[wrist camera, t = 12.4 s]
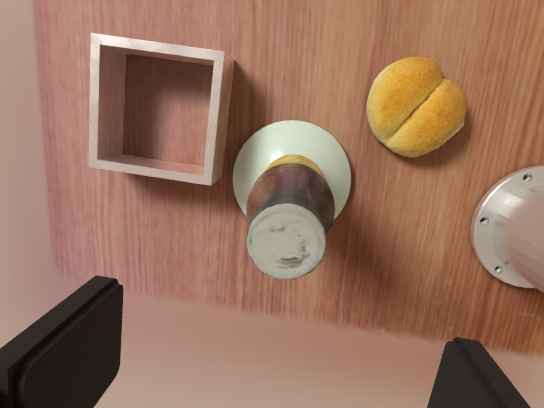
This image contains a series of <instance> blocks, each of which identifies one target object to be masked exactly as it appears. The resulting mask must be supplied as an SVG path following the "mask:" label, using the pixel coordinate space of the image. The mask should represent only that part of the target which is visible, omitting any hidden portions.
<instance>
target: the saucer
mask: <svg viewBox="0 0 544 408" xmlns="http://www.w3.org/2000/svg"><path fill="white" fill-rule="evenodd" d="M290 154H296V155H301V156H304V157H307V158H309V159H310V160H312V161H313V162H314V163H315V164H316V165H317V166H318V167H319V168H320V170H321V172H322V173H323V175H324V177H325V179H326V181H327V183H328V185H329V187H330V189H331V191H332V194H333V197H334V202H335V216H334V219H335V218H336V217H337V216H338V215H339V213H340V212H341V211H342V209H343V207H344V206H345V204H346V201H347V199H348V196H349V192H350V186H351V171H350V166H349V162H348V159H347V157H346V154H345V152H344V150H343V149H342V147H341V145H340V144H339V143H338V142H337V141H336V139H335V138H334V137H333V136H331V135H330V134H329V133H328V132H326V131H325V130H324V129H322V128H320V127H318V126H316V125H314V124H311V123H308V122H304V121H296V120H288V121H280V122H276V123H273V124H270V125H268V126H266V127H264V128H262V129H260V130H259V131H257V132H256V133H254V134H253V135H252V136H251V137H250V138H249V139H248V140H247V141H246V142H245V144H244V145H243V147H242V148H241V150H240V151H239V154H238V156H237V158H236V161H235V164H234V169H233V189H234V193H235V197H236V199H237V202H238V204H239V206H240V208H241V209H242V211H243V212H244V214H245V215H246V207H247V200H248V196H249V194H250V191H251V189H252V187H253V185H254V183H255V182H256V180H257V179H258V178H259V176H260V175H261V174H262V173H263V172H264V170H265V169H266V168H267V167H268V166H269V165H270V164H271V163H272V162H273V161H274V160H276V159H277V158H279V157H282V156H285V155H290ZM246 216H247V215H246Z"/></svg>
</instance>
